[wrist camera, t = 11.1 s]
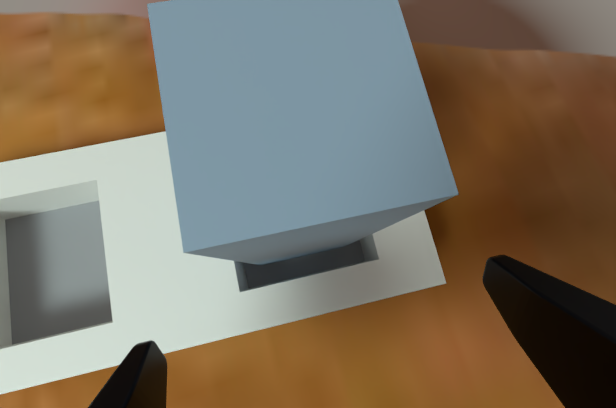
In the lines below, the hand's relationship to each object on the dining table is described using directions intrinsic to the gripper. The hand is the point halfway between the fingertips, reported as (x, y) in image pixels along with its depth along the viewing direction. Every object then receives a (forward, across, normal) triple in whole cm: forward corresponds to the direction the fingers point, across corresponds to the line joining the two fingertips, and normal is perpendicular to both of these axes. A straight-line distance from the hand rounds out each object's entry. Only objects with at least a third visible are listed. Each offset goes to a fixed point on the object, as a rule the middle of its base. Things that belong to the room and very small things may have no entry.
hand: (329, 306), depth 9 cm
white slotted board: (+10, +6, +4) cm, 13 cm away
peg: (+9, 0, +4) cm, 10 cm away
